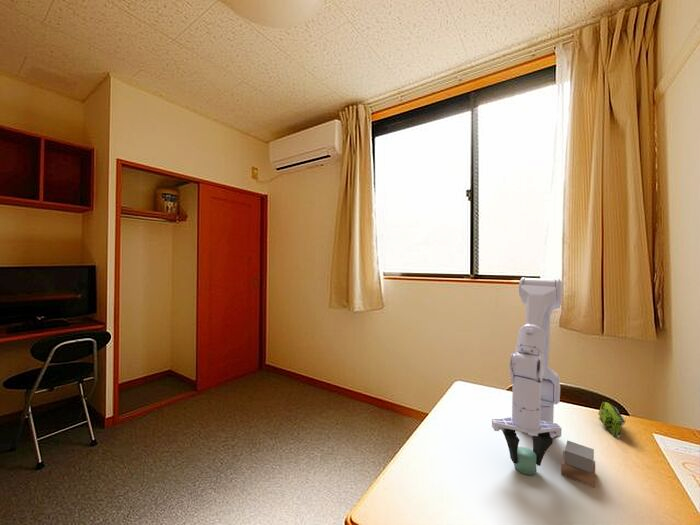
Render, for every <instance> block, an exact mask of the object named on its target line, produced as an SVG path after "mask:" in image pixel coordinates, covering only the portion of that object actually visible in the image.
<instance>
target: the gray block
mask: <svg viewBox="0 0 700 525" xmlns="http://www.w3.org/2000/svg"><path fill="white" fill-rule="evenodd" d="M564 451H565V459H564V463H565V464H568V465H571V466H573V467H576V468H578V469H581V470H584V471H586V472H589V473H592V472H593V463H594V461H595V460H594V459H595V457H594V455H595V454H594V453H595V449H594V448H591V447H588V446H585V445H582V444H579V443H576V442H574V441H571V440H568V439H567V440H566V445H565V448H564Z"/></svg>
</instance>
